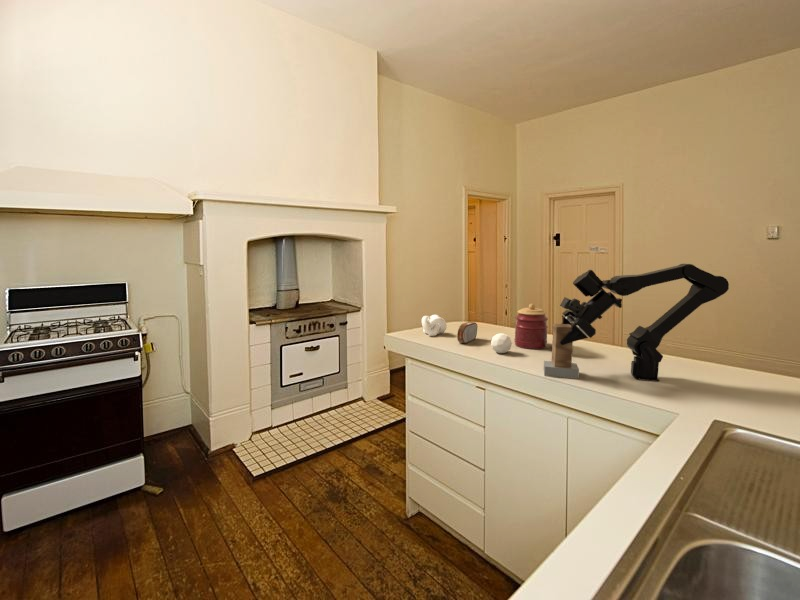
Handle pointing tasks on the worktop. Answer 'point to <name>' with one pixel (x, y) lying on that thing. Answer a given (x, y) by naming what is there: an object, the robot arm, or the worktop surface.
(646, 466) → the worktop surface
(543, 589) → the worktop surface
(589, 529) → the worktop surface
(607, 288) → the robot arm
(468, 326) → the tin
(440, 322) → the white lumpy piece
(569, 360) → the walnut block
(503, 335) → the ball
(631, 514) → the worktop surface
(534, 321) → the canister
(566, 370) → the grey base plate
